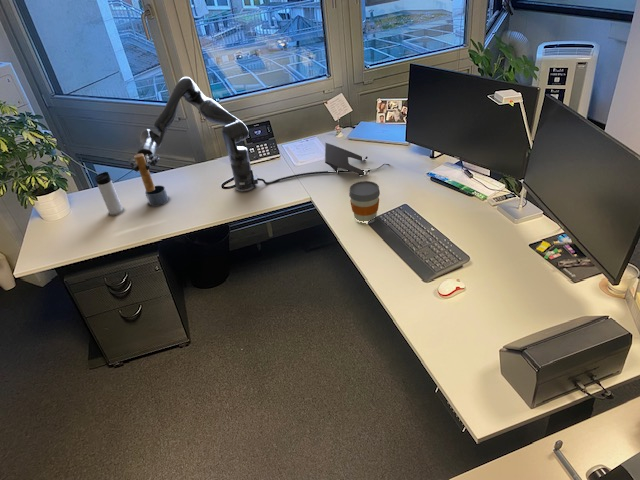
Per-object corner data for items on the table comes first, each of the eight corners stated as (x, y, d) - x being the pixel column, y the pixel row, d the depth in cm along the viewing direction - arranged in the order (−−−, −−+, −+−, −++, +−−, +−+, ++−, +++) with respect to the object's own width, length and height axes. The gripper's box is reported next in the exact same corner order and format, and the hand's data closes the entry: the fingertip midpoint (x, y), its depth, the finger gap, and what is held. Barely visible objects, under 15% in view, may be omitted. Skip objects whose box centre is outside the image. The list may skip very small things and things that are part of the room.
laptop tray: (362, 189, 230) (370, 174, 225) (319, 174, 225) (326, 158, 220) (360, 168, 249) (367, 153, 244) (320, 154, 244) (326, 138, 239)
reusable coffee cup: (360, 230, 191) (359, 199, 182) (345, 216, 200) (343, 186, 192) (386, 220, 195) (385, 189, 186) (369, 207, 205) (368, 177, 196)
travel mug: (126, 209, 224) (112, 172, 212) (117, 216, 219) (102, 178, 207) (116, 207, 226) (101, 171, 214) (107, 215, 221) (91, 177, 209)
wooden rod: (154, 186, 212) (143, 152, 202) (155, 190, 209) (143, 156, 199) (145, 188, 211) (133, 154, 201) (146, 192, 208) (134, 158, 198)
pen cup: (167, 195, 231) (164, 183, 228) (169, 203, 224) (165, 192, 220) (149, 199, 229) (145, 188, 226) (149, 208, 222) (145, 196, 218)
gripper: (164, 157, 217) (160, 174, 203) (133, 162, 216) (127, 179, 202) (160, 142, 213) (155, 158, 199) (128, 147, 212) (121, 163, 198)
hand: (141, 168), depth 201 cm, fingers closed on wooden rod, 4 cm apart
